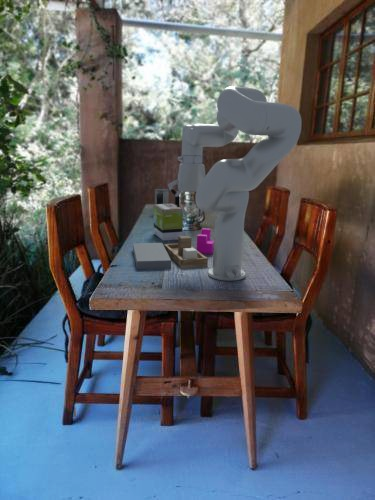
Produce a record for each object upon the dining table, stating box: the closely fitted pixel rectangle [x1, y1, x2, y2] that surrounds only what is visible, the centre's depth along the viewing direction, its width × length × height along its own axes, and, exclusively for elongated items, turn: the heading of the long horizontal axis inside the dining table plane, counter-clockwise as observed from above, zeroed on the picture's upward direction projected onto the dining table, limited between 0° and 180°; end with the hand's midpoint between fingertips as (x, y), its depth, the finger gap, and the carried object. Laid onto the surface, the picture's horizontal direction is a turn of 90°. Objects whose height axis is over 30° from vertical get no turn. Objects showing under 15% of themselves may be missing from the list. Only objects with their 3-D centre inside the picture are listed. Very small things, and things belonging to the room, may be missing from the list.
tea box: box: [152, 203, 184, 241], centre depth 189 cm, size 15×10×15 cm, turn 21°
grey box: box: [183, 247, 197, 259], centre depth 148 cm, size 4×4×4 cm
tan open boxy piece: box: [163, 235, 209, 269], centre depth 155 cm, size 24×10×9 cm, turn 18°
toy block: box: [196, 227, 214, 255], centre depth 169 cm, size 15×6×8 cm, turn 170°
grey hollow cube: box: [154, 188, 170, 204], centre depth 251 cm, size 14×16×15 cm
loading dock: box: [132, 242, 172, 270], centre depth 153 cm, size 26×12×3 cm, turn 11°
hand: (190, 206), depth 152 cm, fingers open, 9 cm apart
